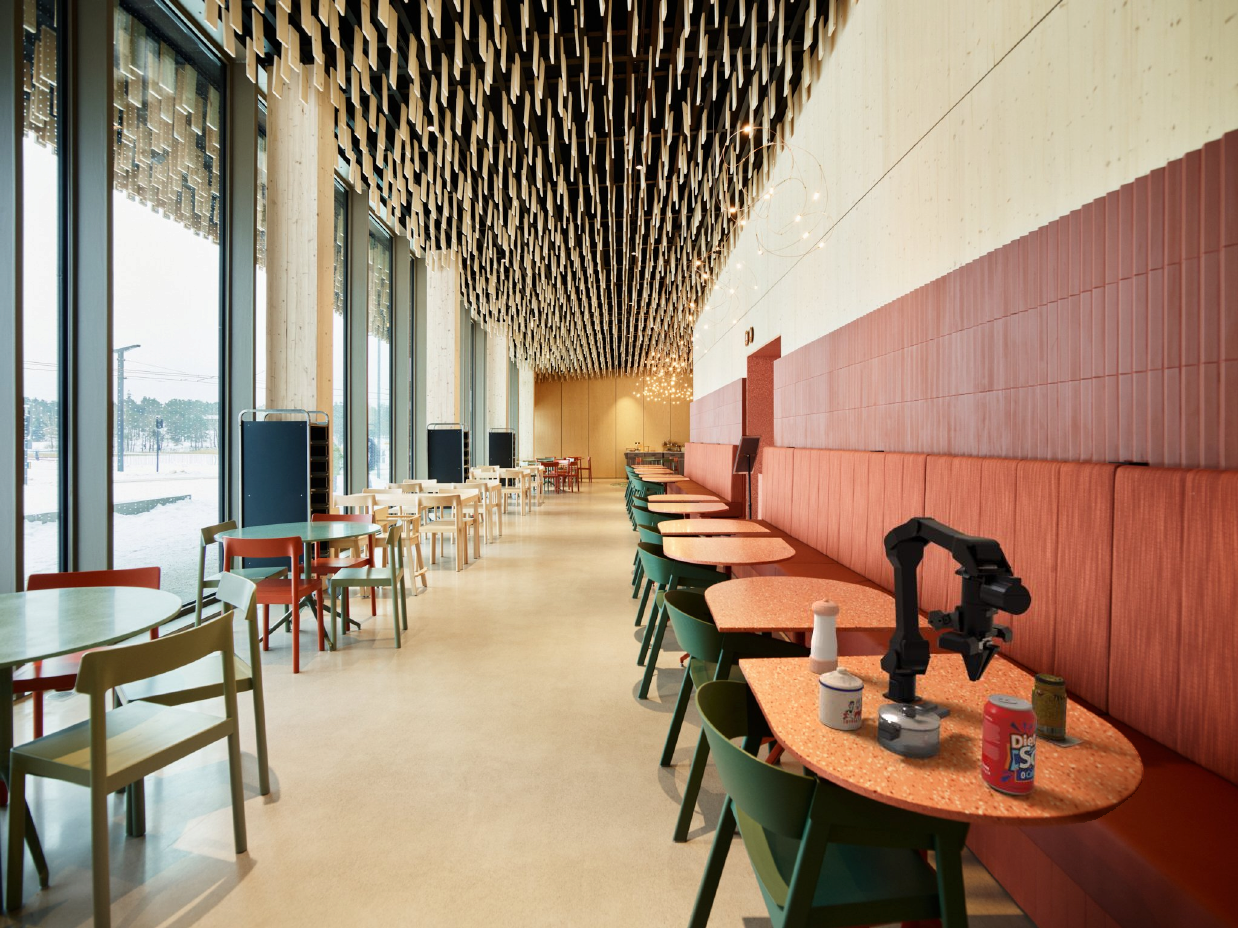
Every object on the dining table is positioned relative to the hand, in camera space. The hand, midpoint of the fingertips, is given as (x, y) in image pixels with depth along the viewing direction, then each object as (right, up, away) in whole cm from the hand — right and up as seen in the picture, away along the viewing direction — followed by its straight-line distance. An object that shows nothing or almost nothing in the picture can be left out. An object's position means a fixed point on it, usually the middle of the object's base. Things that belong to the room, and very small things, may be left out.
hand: (974, 680), depth 123 cm
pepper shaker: (-16, -12, +42) cm, 46 cm away
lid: (-12, -8, 0) cm, 14 cm away
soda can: (-3, -13, -15) cm, 20 cm away
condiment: (+19, -14, +6) cm, 24 cm away
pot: (-11, -13, +1) cm, 17 cm away
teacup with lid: (-22, -12, +10) cm, 28 cm away
